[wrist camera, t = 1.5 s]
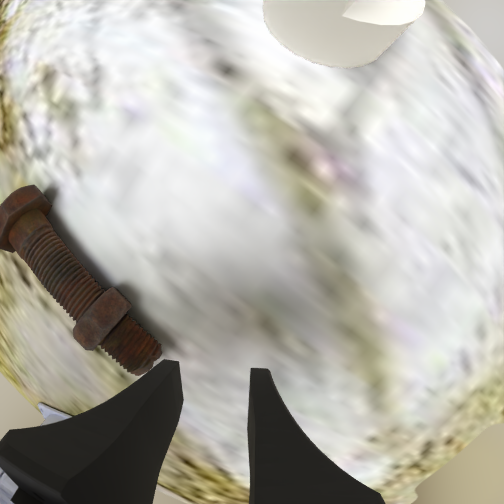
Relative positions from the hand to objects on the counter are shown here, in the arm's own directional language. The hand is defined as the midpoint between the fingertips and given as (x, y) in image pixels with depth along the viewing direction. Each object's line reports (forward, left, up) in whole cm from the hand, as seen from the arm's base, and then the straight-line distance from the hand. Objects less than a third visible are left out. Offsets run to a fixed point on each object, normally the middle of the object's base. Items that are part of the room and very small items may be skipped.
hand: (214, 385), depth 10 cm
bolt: (+1, +11, -9) cm, 14 cm away
